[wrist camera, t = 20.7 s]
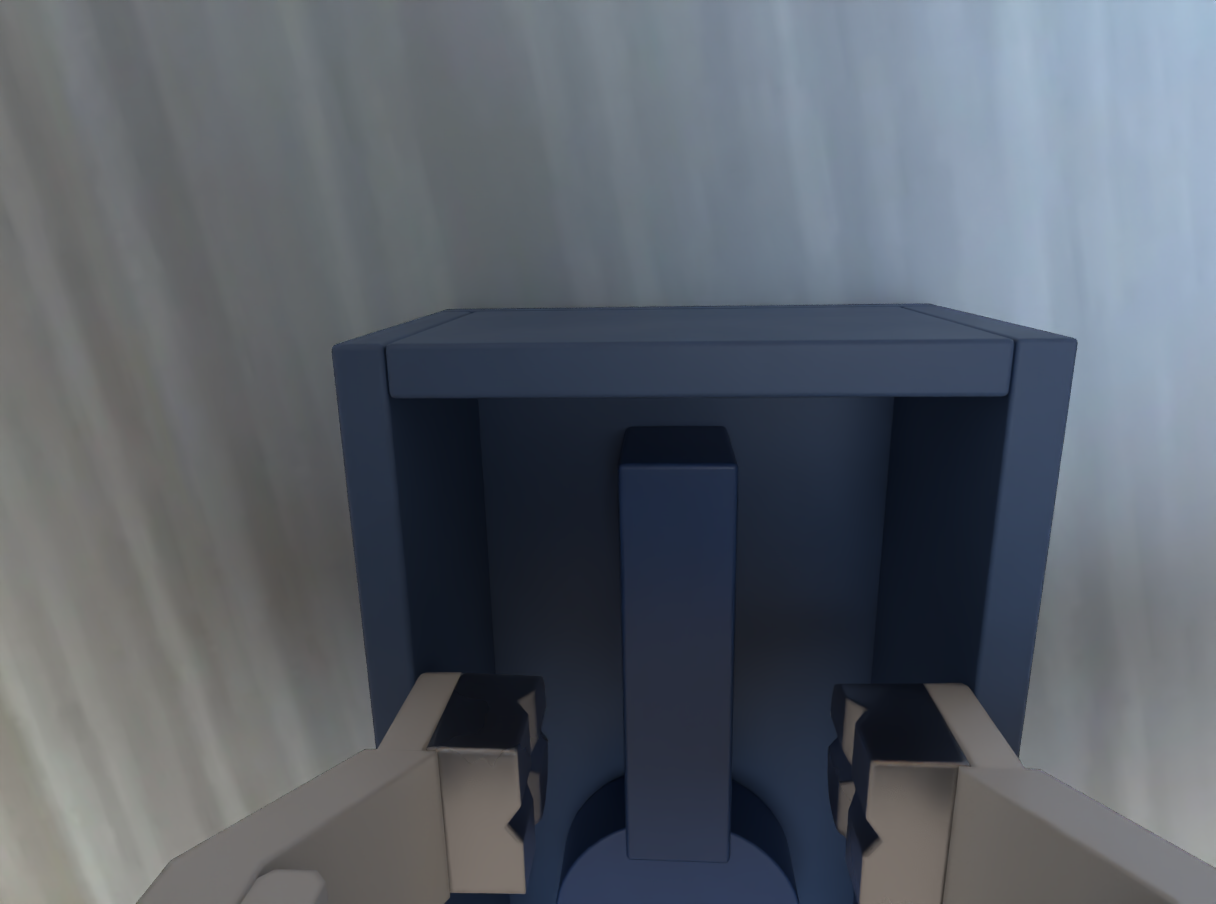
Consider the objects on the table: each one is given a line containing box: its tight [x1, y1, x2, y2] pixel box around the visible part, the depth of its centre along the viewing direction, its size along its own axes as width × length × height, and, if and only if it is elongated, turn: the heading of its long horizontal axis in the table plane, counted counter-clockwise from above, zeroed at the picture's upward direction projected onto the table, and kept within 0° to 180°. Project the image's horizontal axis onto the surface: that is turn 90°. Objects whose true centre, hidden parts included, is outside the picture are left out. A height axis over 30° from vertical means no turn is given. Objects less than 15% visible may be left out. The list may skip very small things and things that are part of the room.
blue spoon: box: [556, 426, 800, 904], centre depth 13 cm, size 10×4×2 cm, turn 1°
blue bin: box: [332, 304, 1077, 904], centre depth 12 cm, size 8×14×4 cm, turn 1°
